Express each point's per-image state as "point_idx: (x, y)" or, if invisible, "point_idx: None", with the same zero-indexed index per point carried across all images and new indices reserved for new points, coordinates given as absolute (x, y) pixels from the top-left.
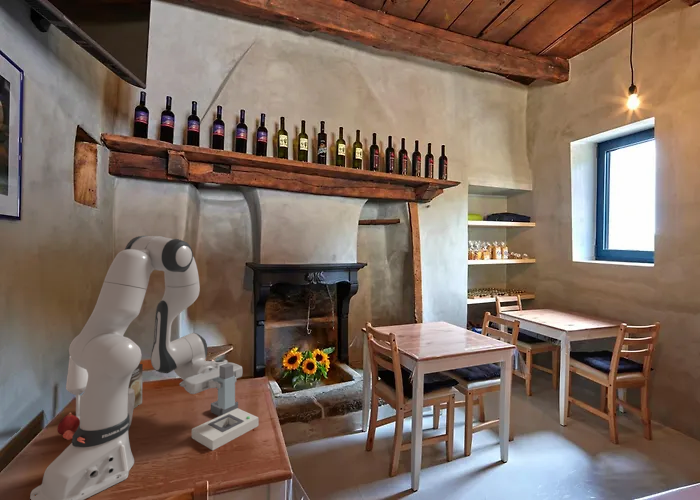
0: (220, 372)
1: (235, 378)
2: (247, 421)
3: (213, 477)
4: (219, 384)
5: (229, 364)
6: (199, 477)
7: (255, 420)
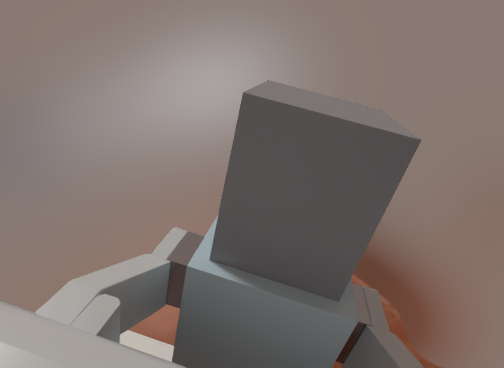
0: (364, 227)
1: (185, 232)
2: (163, 356)
3: (395, 329)
4: (367, 288)
5: (278, 89)
6: (426, 364)
7: (135, 336)
